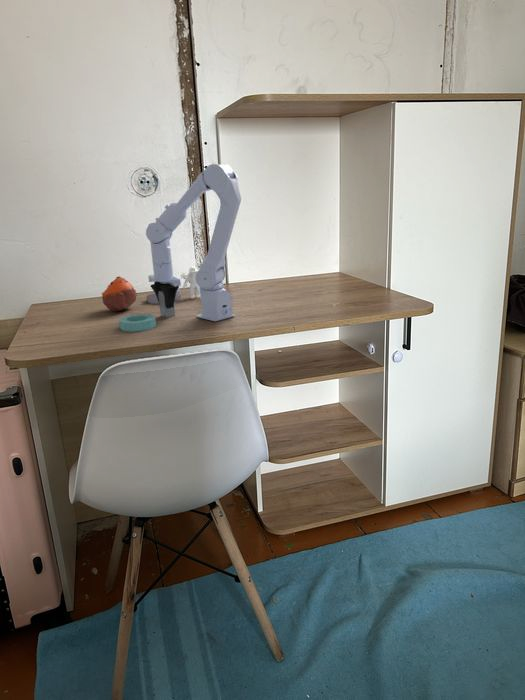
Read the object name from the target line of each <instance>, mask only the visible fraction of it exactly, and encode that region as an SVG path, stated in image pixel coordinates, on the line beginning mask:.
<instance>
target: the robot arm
mask: <svg viewBox="0 0 525 700" xmlns="http://www.w3.org/2000/svg"><path fill="white" fill-rule="evenodd" d="M238 178H239V177H238V175H237V174H236V172H235V171H234V169H233V167H232V166H230V165H229V164H225V163H224V164H216V163H211V164H209V165H207V167H205V169H204V171H201V172H200V173H199V175H198V176H197V178H196V179H195V180H194V181H193V183H192V184H191V185H190V186H189V188H188V189H187V190H186V191H185V193H184V194H183V195H182V196H181V198H180V199H179V200H178V202H171V203H169V204H166V205H165V206H164V208H165V210H164V211H163V212H162V213H161V214H160V215H159V216H156V217H155V218H154V219H155V222H151V223H149V224H148V225H147V227H146V229H145V235H146V238H147V240H148V241H149V242H150V251H151V253H150V254H151V261H152V270H153V274H150V275H148V282H150V283H153V284H150V288H151V289H152V290H153V292H155V294H156V296H157V299H158V302H159V296H158V291H160V290H162V292H163V294H164V297H165V302H166V306H167V308H172V307H174V308H175V301H176V300H175V296H176V292H177V290H178V289H179V288H180V286H181V278H177V277H176V276H174V271H173V269H174V268H173V262H172V250H171V244H170V240H171V238H172V236H173V232H174V231H175V230H176V229H177V228H178V227H179V226H180V225H181V223H182V222H183V221H184V220H185V219H186V218H187V210H189V208H190V207H191V206H192V205H194V203H195V202H197V201H198V199H199V198H200V197H201V196H202V195H203V194H204V193H205V192H209V191H211V190H212V191H213V192H214V193H216V196H218V197H217V198H218V199H219V200H220V203H221V204H220V207H219V211H218V215H217V216H216V217H217V218H216V221H215V226H214V229H213V233H212V235H211V240H210V243H209V246H208V250H207V254H206V256H205V258H204V259H203V261H202V263H201V265H200V268H199V269H198V272H197V273H196V282H197V284H198V285H199V288H200V307H201V314H196V315H195V317H196V318H200V319H203V320H208V321H212V322H218V321H221V320H226V319H229V318H233V317H235V316H236V314H233V300H232V298H233V297H232V295H231V292H230V291H228V290H226V289H225V288H224V287H225V286H224V282H223V281H224V280H225V278H226V269H225V267H226V263H227V262H226V259H225V258H226V255H227V251H228V247H229V243H230V240H231V237H232V233H233V230H234V226H235V222H236V219H237V217H238V212H239V209H240V205H241V201H242V196H241V193H240V188H239V182H238Z"/></svg>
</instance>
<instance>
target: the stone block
mask: <svg viewBox="0 0 525 700" xmlns="http://www.w3.org/2000/svg"><path fill="white" fill-rule="evenodd" d="M180 297H182V292H181V288H180V287H179V288H178V290H177V292H176V296H175V301H177V300H178V299H180ZM146 301H147V303H148V304H151V305H152V304H156V305H159V302H158V299H157V296H156V294H155V292H154V291H153V292H151V293H150V294H147V295H146Z"/></svg>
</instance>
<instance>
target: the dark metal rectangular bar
mask: <svg viewBox="0 0 525 700" xmlns="http://www.w3.org/2000/svg"><path fill="white" fill-rule="evenodd" d="M158 296H159V304H158V305H159V311H160V312H159V313H160V314H159V315H160V317H162V318H165V319H166V318H171V317H175V316H176V314H175V313H176V311H175V306H174V307H172V308H167V306H166V302H165V297H164V294H163V292H162V290H160V291H158Z"/></svg>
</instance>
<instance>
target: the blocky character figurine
mask: <svg viewBox="0 0 525 700" xmlns="http://www.w3.org/2000/svg"><path fill="white" fill-rule="evenodd" d="M201 265H202V263H201V262H199V263H196V264H195V265H193V266H192V265H191V266H190V267H189V269H188V273H187V271H183V272H181V274H180V280H181V279H184V283H183V286H182V288H183V290H185V289H186V287H188V283H189V284H190V285H189V292H190V293H189V296H190V297H189V299H195V298H197V299H199V298H200V286H199V285H198V284H197V282H196V273H197V272H198V270H199V269H198V267H201ZM195 291H196V293H195ZM195 294H196V296H195ZM200 299H201V298H200Z"/></svg>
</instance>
